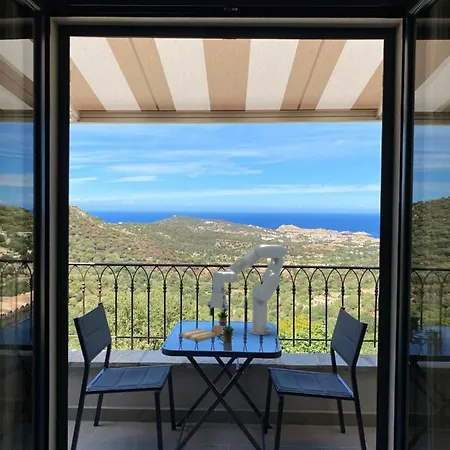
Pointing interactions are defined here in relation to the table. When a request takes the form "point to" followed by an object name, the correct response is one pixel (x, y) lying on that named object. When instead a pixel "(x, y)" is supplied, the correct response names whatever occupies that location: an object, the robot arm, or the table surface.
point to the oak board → (198, 335)
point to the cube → (217, 329)
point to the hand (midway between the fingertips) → (217, 316)
